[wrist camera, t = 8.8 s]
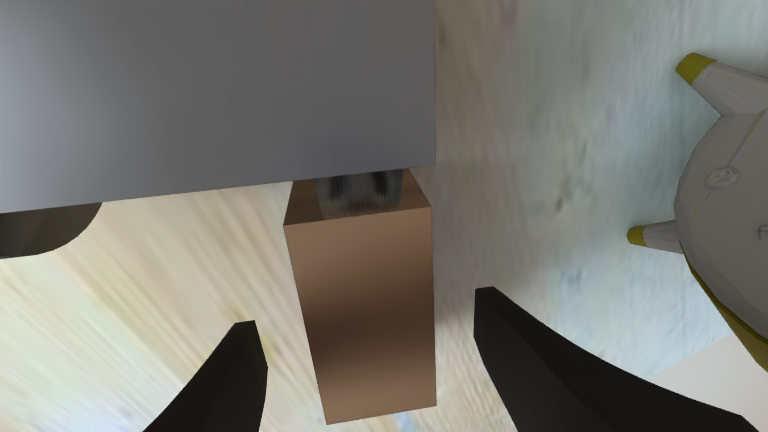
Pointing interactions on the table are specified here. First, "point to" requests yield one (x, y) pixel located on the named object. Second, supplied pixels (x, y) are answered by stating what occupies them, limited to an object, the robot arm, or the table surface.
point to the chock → (366, 302)
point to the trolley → (207, 104)
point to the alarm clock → (725, 202)
